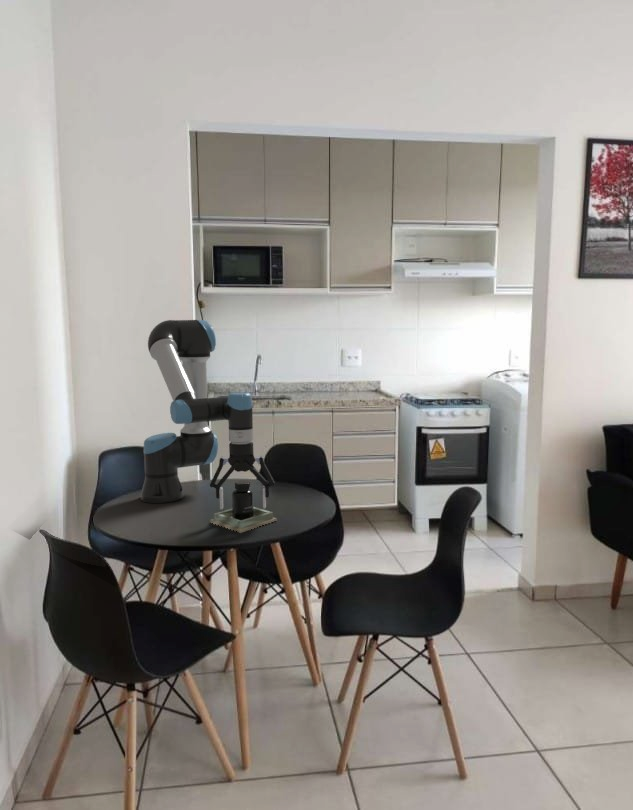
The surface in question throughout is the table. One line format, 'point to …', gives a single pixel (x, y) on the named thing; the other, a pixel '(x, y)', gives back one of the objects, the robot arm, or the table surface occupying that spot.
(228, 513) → the green square tray
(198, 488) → the table surface
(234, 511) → the supplement bottle
